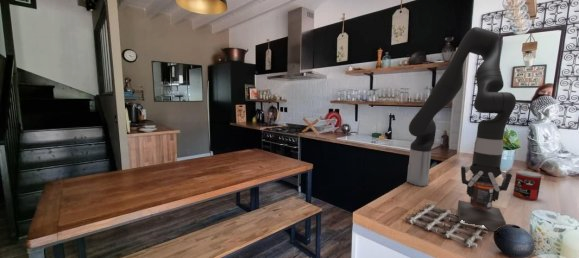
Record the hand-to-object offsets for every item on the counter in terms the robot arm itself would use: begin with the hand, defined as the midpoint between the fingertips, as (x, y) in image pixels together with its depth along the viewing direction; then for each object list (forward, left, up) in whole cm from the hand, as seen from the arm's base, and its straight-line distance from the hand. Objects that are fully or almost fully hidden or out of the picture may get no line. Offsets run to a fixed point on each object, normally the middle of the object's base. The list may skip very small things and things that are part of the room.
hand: (481, 198), depth 86 cm
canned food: (+20, +39, -9) cm, 45 cm away
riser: (0, 0, -8) cm, 8 cm away
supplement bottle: (0, 0, -3) cm, 3 cm away
